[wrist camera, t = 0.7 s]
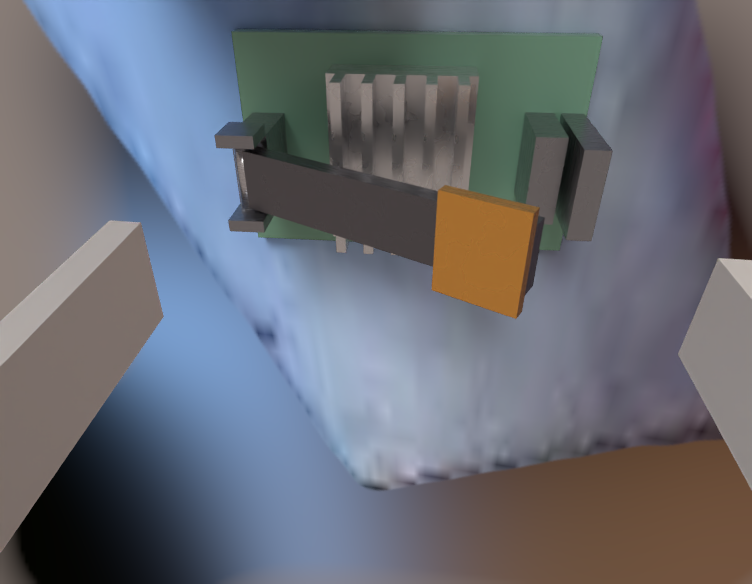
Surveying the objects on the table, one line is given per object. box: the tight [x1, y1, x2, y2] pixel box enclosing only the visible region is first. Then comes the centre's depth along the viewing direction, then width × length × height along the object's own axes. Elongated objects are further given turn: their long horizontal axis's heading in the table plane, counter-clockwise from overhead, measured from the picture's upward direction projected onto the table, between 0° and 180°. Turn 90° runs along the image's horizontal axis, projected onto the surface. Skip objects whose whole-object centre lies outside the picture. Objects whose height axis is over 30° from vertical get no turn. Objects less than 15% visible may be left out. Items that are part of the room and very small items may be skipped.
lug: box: [514, 112, 612, 241], centre depth 38 cm, size 6×4×8 cm
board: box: [231, 29, 603, 251], centre depth 43 cm, size 16×25×1 cm, turn 90°
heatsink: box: [325, 64, 479, 255], centre depth 40 cm, size 12×10×6 cm
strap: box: [233, 146, 545, 319], centre depth 33 cm, size 6×21×2 cm, turn 90°
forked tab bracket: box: [215, 112, 288, 232], centre depth 40 cm, size 7×2×8 cm, turn 0°
